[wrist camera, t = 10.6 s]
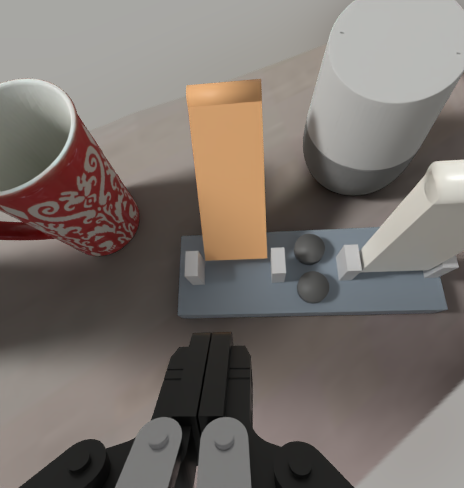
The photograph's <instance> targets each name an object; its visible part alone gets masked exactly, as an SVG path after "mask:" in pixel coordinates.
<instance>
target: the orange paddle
mask: <svg viewBox="0 0 464 488" xmlns="http://www.w3.org/2000/svg"><path fill="white" fill-rule="evenodd" d="M186 98H187V105H188V112H189V121H190V129H191V138H192V147H193V156H194V165H195V174H196V183H197V191H198V200H199V209H200V218H201V227H202V236H203V244H204V253H205V261H212V260H238V259H265V258H267V238H266V209H265V180H264V152H263V123H262V93H261V79H254V80H243V81H231V82H220V83H209V84H198V85H187V87H186Z"/></svg>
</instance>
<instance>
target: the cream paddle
mask: <svg viewBox="0 0 464 488" xmlns="http://www.w3.org/2000/svg"><path fill="white" fill-rule="evenodd" d="M462 251H464V160H449V161H435V162H433V163H432V164H431V165H430V166H429V168H428V170H427V172H426V174H425V176H424V177H423V178H422V179H421V180H420V181H419V183H418V184H417V185H416V186H415V187H414V188H413V190H412V191H411V192H410V193H409V194H408V195H407V196H406V198H405V199H404V200H403V201H402V202H401V203H400V205H399V206H398V207H397V208H396V209H395V210H394V212H393V213H392V214H391V215H390V216H389V217H388V219H387V220H386V221H385V222H384V223H383V224H382V226H381V227H380V228H379V229H378V230H377V231H376V233H375V234H374V235H373V236H372V237H371V238H370V239H369V241H368V242H367V243H366V244H365V245H364V246H363V248H362V249H361V250H360V251H359V255H360V261H361V268H362V271H361V272H387V271H418V270H430V269H432V268H433V267H435V266H437V265H439V264H441V263H442V262H444V261H446V260H448V259H450V258H452V257H453V256H455V255H457V254H459V253H461V252H462Z"/></svg>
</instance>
